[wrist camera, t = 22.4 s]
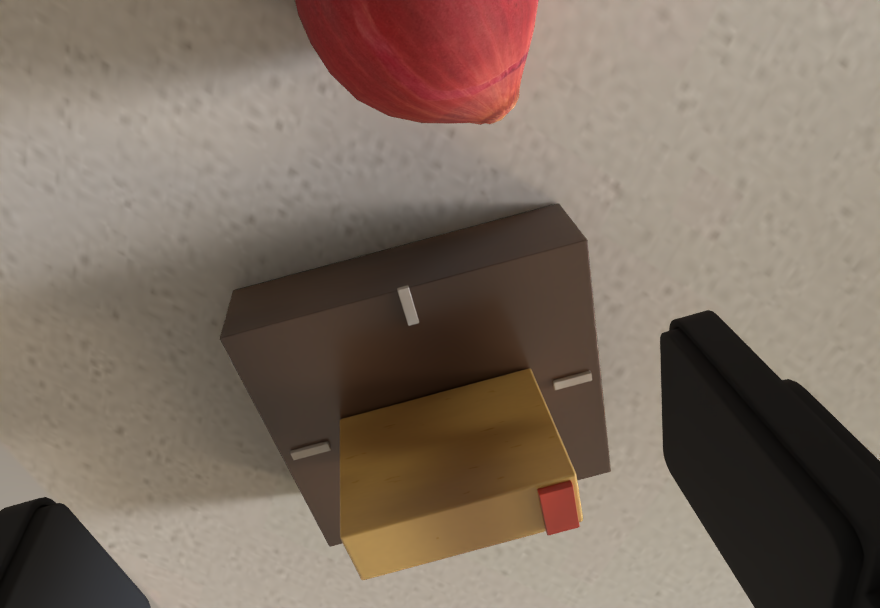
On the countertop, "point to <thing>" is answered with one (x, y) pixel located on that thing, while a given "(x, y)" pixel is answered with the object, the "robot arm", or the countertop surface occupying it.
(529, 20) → the onion
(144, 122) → the countertop surface
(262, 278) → the countertop surface
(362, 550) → the tap handle
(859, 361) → the countertop surface
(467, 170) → the countertop surface
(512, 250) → the tap deck
